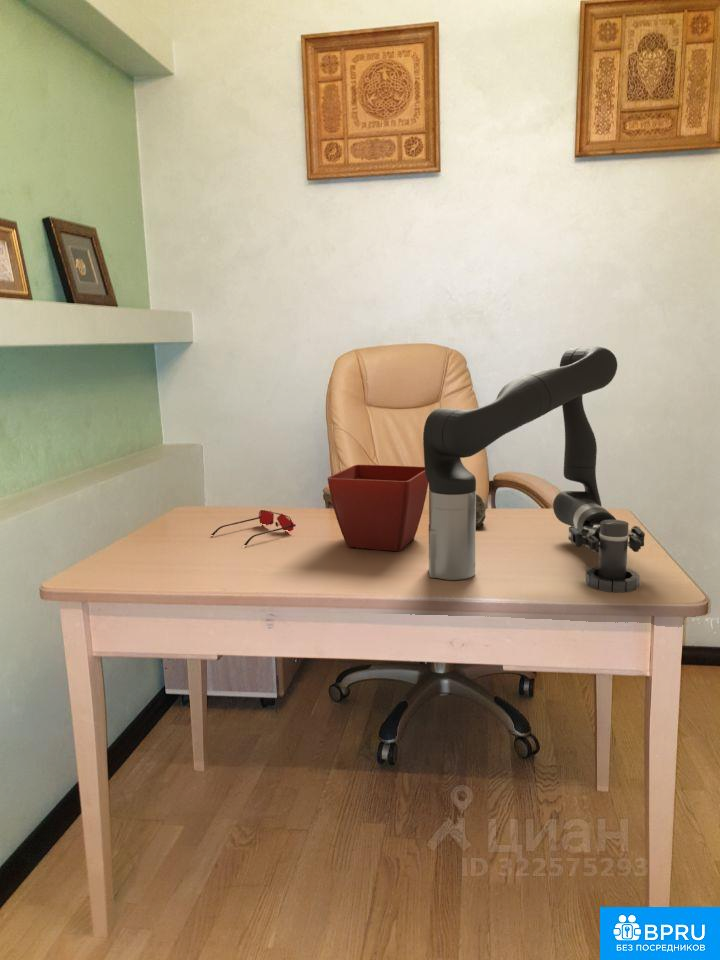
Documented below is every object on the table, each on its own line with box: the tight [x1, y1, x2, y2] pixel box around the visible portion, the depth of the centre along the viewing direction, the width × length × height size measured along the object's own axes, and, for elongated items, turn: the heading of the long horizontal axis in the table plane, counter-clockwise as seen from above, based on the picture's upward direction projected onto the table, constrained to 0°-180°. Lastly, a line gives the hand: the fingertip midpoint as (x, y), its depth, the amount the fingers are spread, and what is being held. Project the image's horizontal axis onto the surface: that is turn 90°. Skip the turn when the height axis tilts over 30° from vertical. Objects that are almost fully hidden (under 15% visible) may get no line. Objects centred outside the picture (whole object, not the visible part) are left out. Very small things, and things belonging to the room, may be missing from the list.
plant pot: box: [327, 464, 429, 552], centre depth 174 cm, size 19×19×17 cm
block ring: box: [585, 565, 640, 593], centre depth 144 cm, size 9×9×2 cm
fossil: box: [476, 493, 487, 528], centre depth 190 cm, size 11×9×10 cm
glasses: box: [210, 509, 297, 546], centre depth 184 cm, size 14×16×5 cm
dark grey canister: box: [598, 519, 629, 580], centre depth 143 cm, size 5×5×12 cm
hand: (617, 546), depth 140 cm, fingers open, 6 cm apart
